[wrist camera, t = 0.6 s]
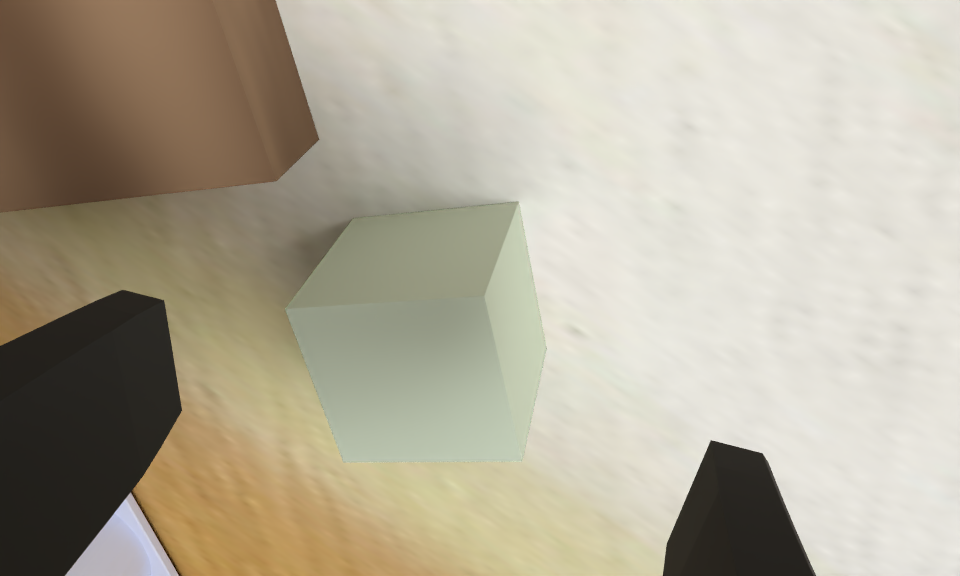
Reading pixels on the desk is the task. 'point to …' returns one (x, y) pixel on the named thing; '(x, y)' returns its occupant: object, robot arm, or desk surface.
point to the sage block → (425, 336)
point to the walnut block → (144, 99)
